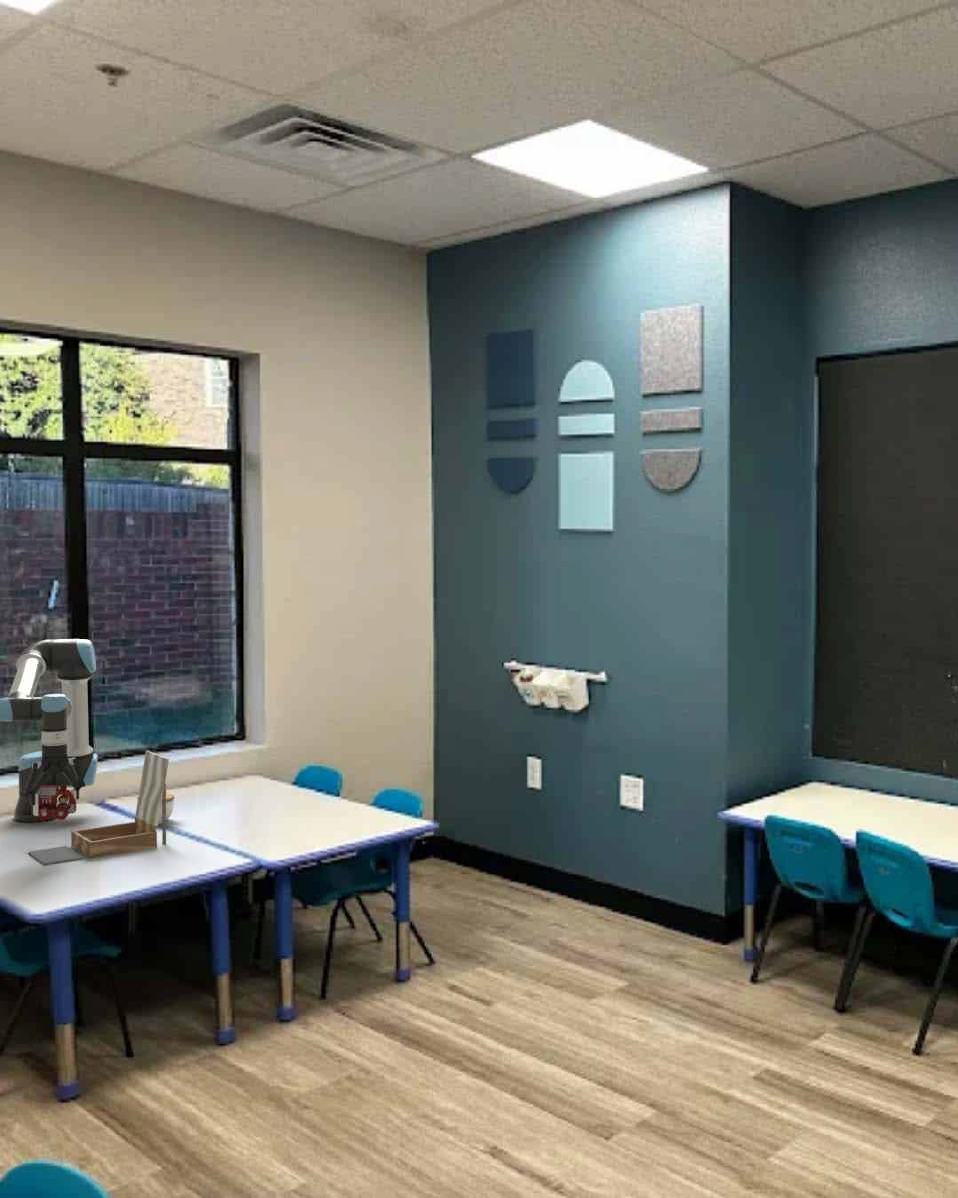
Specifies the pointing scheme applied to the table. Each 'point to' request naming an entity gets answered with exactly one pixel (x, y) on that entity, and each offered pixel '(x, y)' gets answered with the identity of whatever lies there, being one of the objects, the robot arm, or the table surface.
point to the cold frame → (146, 818)
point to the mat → (55, 855)
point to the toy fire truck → (55, 802)
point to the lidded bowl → (167, 806)
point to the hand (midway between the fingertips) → (54, 812)
